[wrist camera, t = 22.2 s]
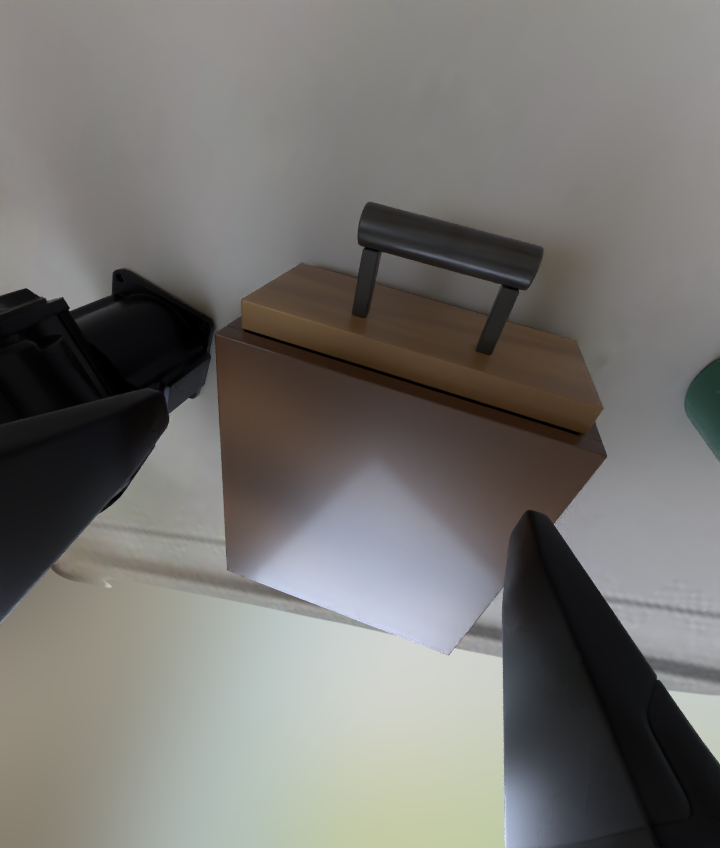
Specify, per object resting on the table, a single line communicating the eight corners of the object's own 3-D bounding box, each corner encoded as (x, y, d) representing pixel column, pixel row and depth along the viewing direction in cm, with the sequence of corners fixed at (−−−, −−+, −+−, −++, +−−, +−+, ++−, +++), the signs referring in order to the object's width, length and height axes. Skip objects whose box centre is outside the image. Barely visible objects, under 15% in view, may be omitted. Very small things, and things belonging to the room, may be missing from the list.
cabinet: (295, 278, 21) (214, 332, 15) (573, 359, 19) (608, 456, 13) (278, 488, 31) (226, 570, 25) (458, 551, 29) (449, 656, 23)
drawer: (309, 168, 17) (239, 178, 12) (628, 251, 15) (684, 296, 11) (282, 478, 29) (242, 541, 24) (460, 540, 27) (453, 620, 23)
